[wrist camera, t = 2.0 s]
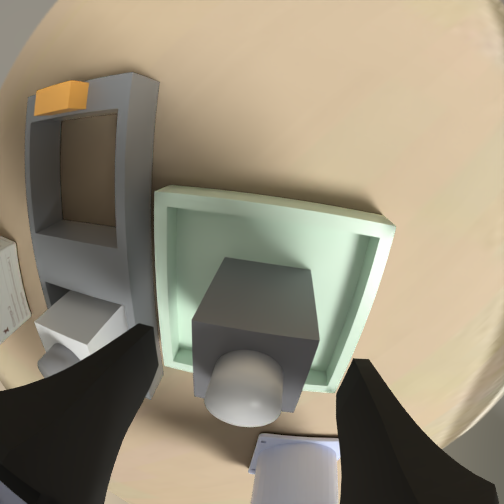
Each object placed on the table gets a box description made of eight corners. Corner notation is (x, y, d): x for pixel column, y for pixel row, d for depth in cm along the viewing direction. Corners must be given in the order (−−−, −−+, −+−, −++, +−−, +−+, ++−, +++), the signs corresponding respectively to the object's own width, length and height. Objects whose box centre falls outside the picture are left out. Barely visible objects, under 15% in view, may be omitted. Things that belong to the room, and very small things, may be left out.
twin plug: (140, 343, 17) (94, 415, 11) (93, 328, 17) (43, 387, 11) (132, 292, 15) (70, 365, 9) (82, 280, 16) (17, 337, 10)
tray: (332, 372, 16) (334, 392, 14) (173, 347, 16) (164, 365, 15) (383, 215, 12) (396, 226, 10) (170, 184, 12) (154, 191, 11)
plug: (294, 336, 14) (292, 443, 8) (220, 324, 15) (184, 424, 9) (310, 269, 13) (323, 375, 7) (224, 256, 13) (175, 351, 7)
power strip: (163, 374, 18) (144, 413, 14) (85, 347, 18) (61, 377, 15) (159, 81, 11) (116, 66, 7) (58, 97, 11) (11, 97, 8)
